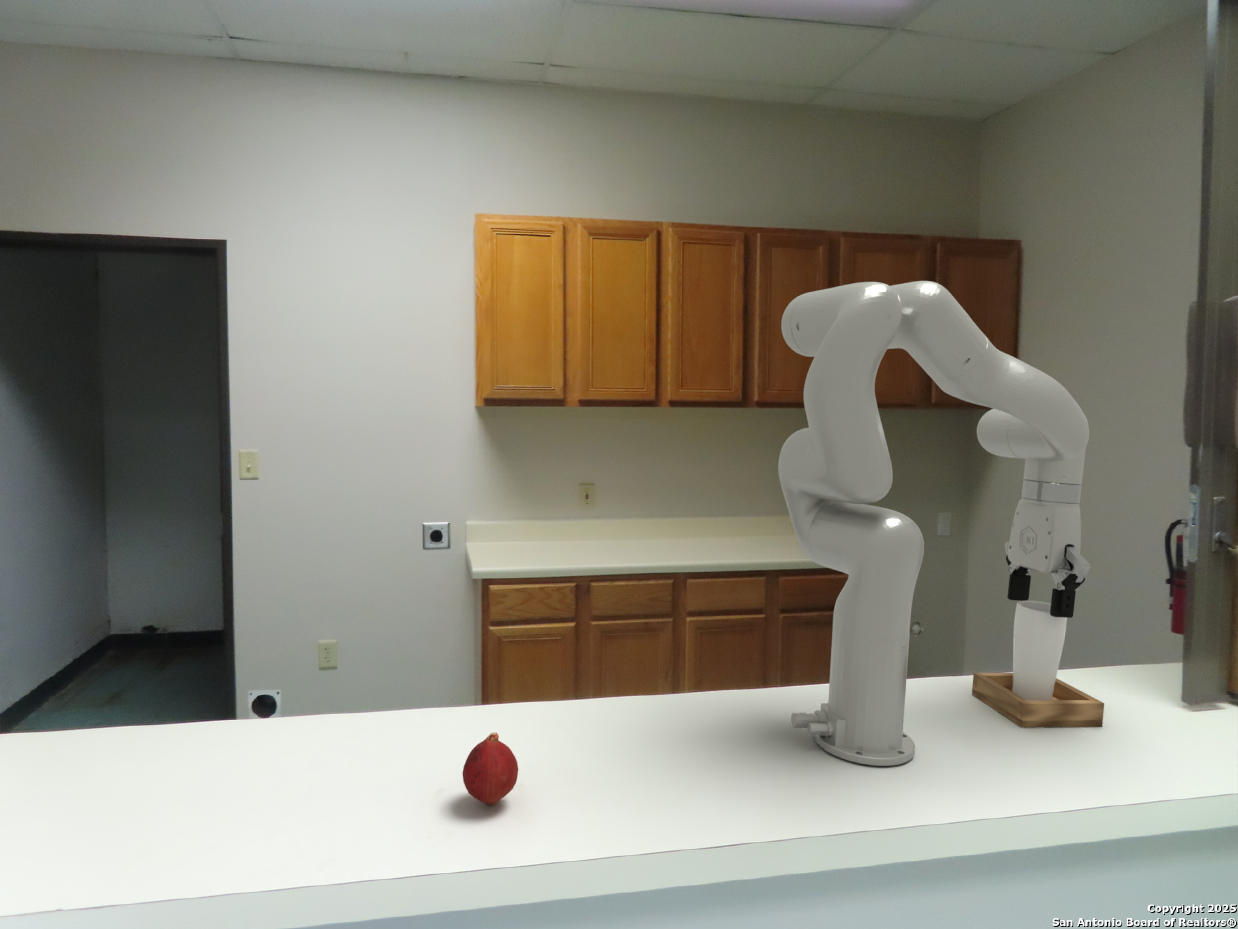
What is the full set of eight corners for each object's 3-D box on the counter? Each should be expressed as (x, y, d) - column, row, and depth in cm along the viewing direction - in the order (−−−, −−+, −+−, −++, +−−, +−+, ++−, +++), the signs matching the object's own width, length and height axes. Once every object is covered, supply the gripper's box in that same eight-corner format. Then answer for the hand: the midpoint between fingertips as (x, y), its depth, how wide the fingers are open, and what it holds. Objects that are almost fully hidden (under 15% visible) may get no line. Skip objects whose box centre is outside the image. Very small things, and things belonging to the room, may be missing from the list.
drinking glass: (1045, 696, 116) (1056, 602, 115) (1064, 715, 110) (1076, 615, 108) (999, 692, 117) (1009, 598, 116) (1015, 710, 110) (1026, 610, 109)
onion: (468, 823, 77) (470, 748, 77) (457, 796, 82) (458, 725, 82) (523, 813, 79) (525, 740, 79) (508, 787, 85) (510, 718, 84)
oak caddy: (1022, 727, 107) (1023, 703, 106) (972, 694, 119) (973, 673, 119) (1102, 727, 108) (1104, 703, 108) (1044, 694, 120) (1046, 672, 120)
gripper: (991, 487, 119) (981, 593, 120) (1068, 499, 102) (1055, 623, 103) (1035, 490, 120) (1024, 595, 121) (1118, 502, 103) (1105, 625, 104)
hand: (1038, 608), depth 112 cm, fingers open, 9 cm apart
